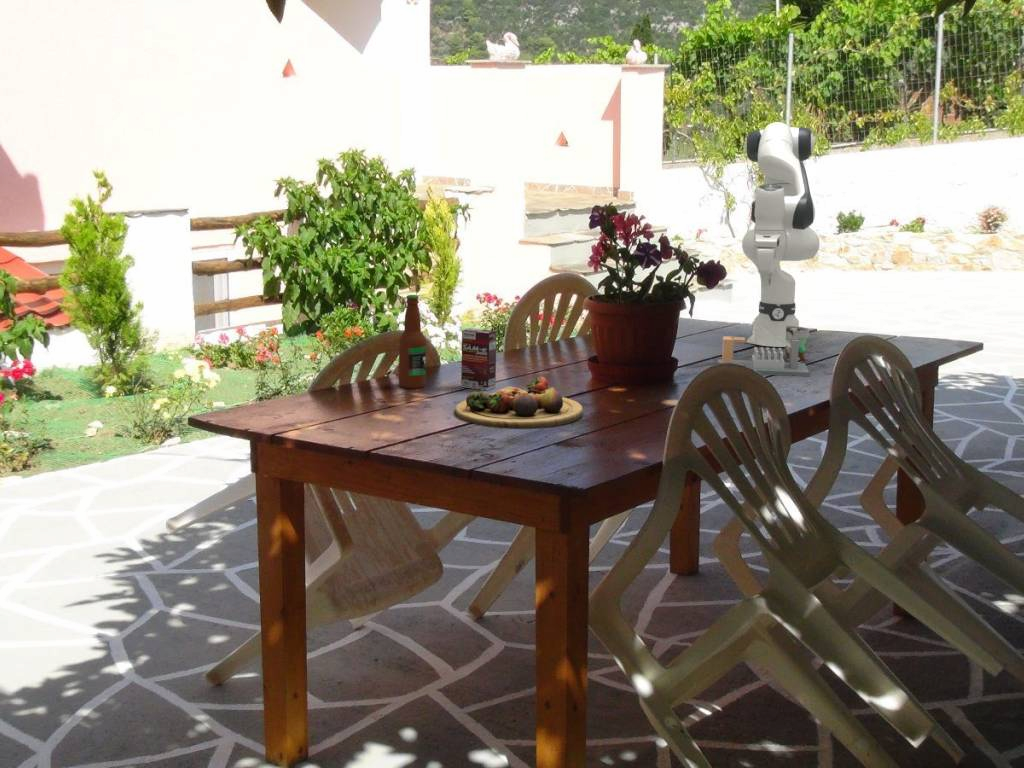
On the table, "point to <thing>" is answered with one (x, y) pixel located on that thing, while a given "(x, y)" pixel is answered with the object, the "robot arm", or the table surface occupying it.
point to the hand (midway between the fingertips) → (766, 286)
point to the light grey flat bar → (772, 334)
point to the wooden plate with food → (520, 407)
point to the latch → (730, 347)
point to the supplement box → (478, 359)
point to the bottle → (412, 348)
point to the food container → (802, 337)
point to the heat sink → (776, 361)
